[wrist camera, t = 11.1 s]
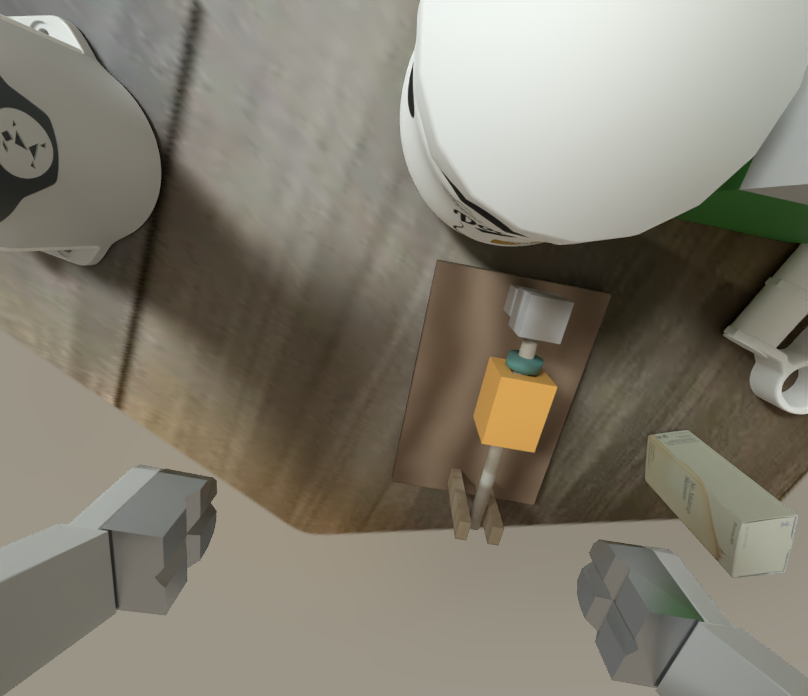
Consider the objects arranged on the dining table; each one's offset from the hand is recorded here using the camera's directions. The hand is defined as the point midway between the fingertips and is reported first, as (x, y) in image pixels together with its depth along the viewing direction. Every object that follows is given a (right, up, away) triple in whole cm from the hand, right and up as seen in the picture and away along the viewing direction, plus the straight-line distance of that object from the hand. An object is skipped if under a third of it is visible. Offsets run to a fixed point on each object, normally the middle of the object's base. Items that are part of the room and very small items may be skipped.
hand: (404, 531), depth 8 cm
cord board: (+9, 0, +31) cm, 32 cm away
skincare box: (+29, -8, +33) cm, 45 cm away
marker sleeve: (+9, 0, +26) cm, 27 cm away
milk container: (+8, +22, +23) cm, 33 cm away
